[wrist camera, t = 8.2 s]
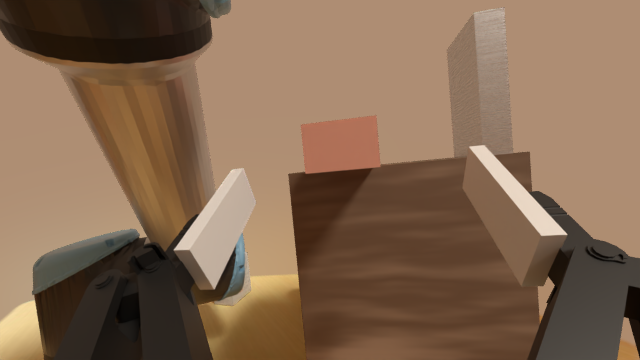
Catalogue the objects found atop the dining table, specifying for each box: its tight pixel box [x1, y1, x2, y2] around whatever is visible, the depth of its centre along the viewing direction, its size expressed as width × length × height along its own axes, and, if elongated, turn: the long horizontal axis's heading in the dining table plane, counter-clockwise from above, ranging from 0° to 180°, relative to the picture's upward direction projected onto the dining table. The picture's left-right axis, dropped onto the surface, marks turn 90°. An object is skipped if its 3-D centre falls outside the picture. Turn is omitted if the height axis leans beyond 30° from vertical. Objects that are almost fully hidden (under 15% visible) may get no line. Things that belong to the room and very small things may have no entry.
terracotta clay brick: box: [301, 116, 381, 174], centre depth 27 cm, size 22×4×3 cm, turn 170°
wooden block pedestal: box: [288, 152, 540, 360], centre depth 31 cm, size 14×21×30 cm, turn 80°
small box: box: [214, 252, 251, 306], centre depth 66 cm, size 8×6×10 cm
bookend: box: [447, 7, 513, 158], centre depth 28 cm, size 8×2×13 cm, turn 170°
